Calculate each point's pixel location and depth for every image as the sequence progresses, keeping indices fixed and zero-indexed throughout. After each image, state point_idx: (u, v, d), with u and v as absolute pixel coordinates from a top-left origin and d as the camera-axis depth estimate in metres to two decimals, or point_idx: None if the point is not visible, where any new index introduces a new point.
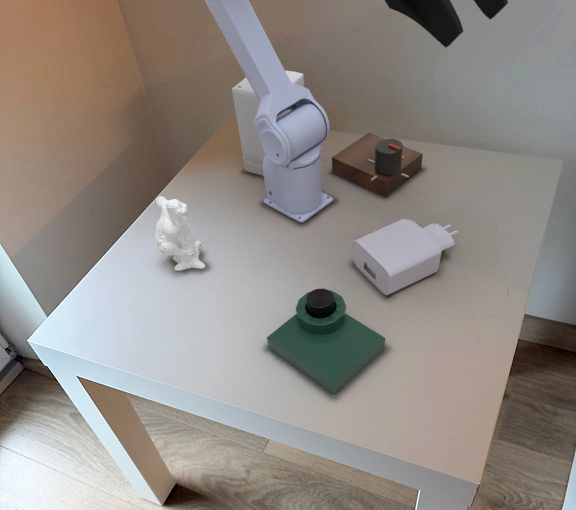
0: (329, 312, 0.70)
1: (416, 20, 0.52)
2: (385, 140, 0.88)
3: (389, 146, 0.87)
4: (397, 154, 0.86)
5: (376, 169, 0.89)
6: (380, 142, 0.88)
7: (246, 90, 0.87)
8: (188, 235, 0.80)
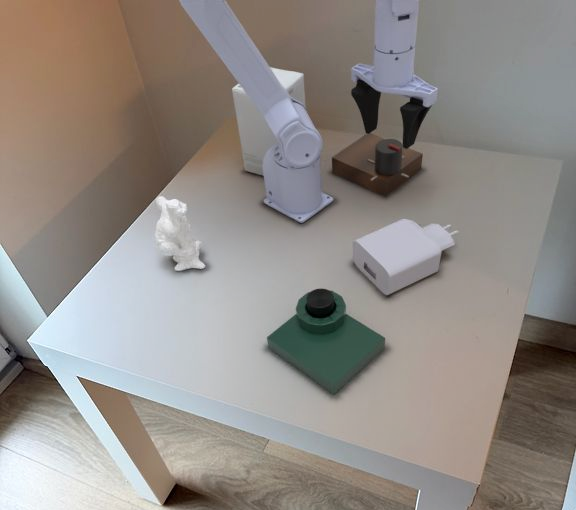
0: (329, 312, 0.70)
1: (410, 128, 0.80)
2: (385, 140, 0.88)
3: (389, 146, 0.87)
4: (397, 154, 0.86)
5: (376, 169, 0.89)
6: (380, 142, 0.88)
7: None
8: (188, 235, 0.80)
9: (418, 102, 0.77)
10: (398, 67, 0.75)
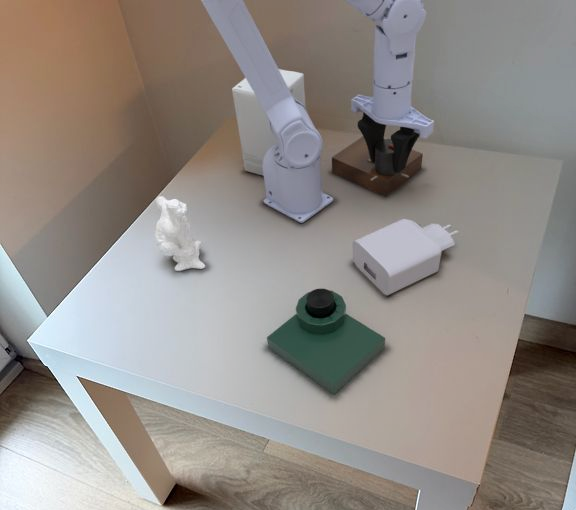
0: (329, 312, 0.70)
1: (401, 154, 0.85)
2: (385, 140, 0.88)
3: (389, 146, 0.87)
4: None
5: (376, 169, 0.89)
6: (380, 142, 0.88)
7: (246, 90, 0.87)
8: (188, 235, 0.80)
9: (408, 130, 0.82)
10: (396, 101, 0.79)
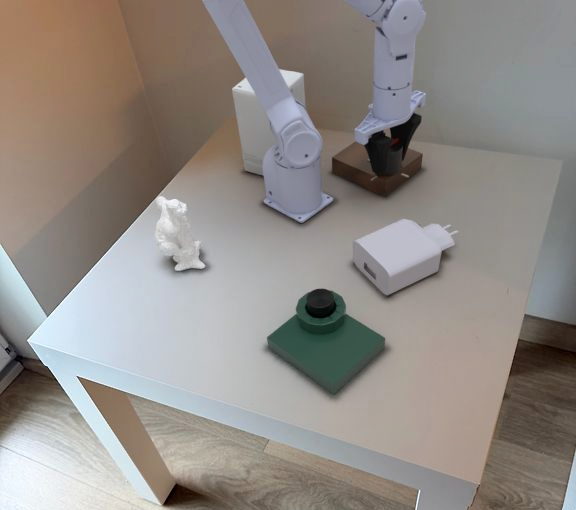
0: (329, 312, 0.70)
1: None
2: None
3: (391, 144, 0.87)
4: None
5: (394, 171, 0.89)
6: None
7: (246, 90, 0.87)
8: (188, 235, 0.80)
9: None
10: None
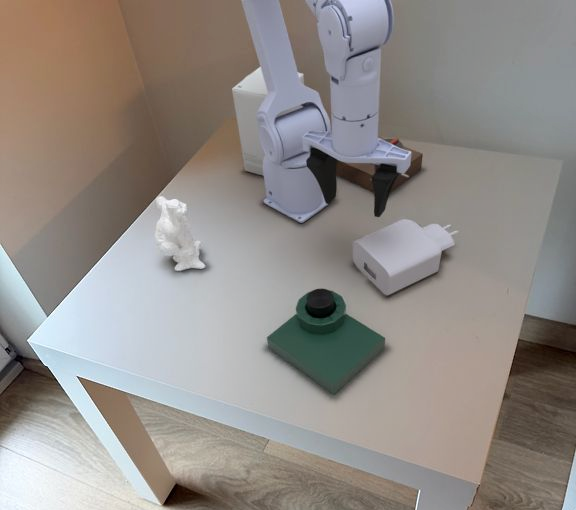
0: (329, 312, 0.70)
1: (383, 197, 0.70)
2: None
3: None
4: None
5: None
6: None
7: (246, 90, 0.87)
8: (188, 235, 0.80)
9: (390, 169, 0.67)
10: (364, 134, 0.64)
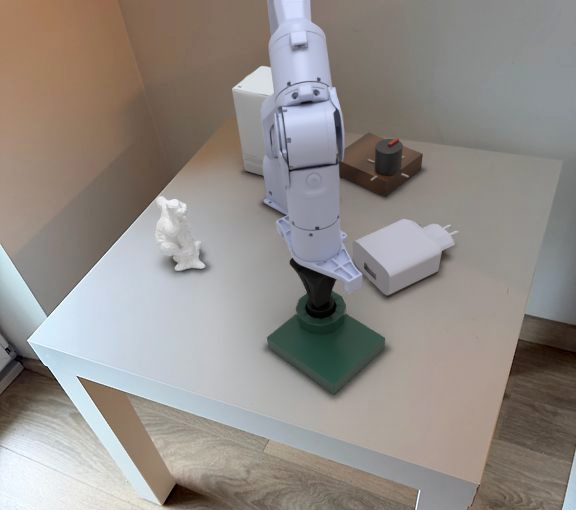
0: (329, 315, 0.71)
1: (316, 292, 0.66)
2: (378, 147, 0.87)
3: (391, 144, 0.87)
4: None
5: (394, 171, 0.89)
6: (382, 150, 0.86)
7: (246, 90, 0.87)
8: (188, 235, 0.80)
9: None
10: (314, 243, 0.59)
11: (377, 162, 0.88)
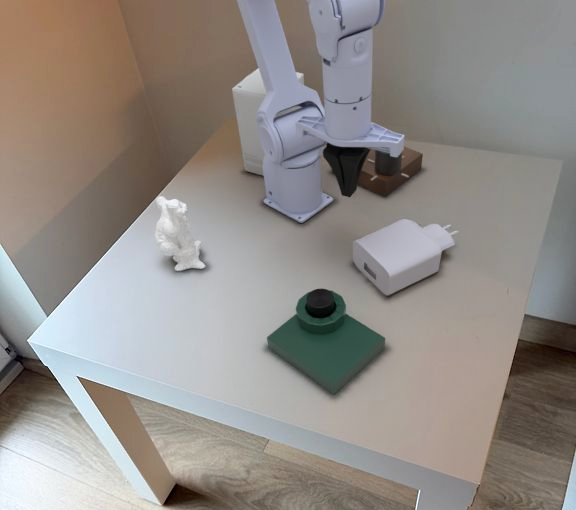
0: (329, 312, 0.70)
1: (353, 176, 0.71)
2: None
3: None
4: None
5: (394, 171, 0.89)
6: None
7: (246, 90, 0.87)
8: (188, 235, 0.80)
9: (358, 147, 0.68)
10: (357, 117, 0.64)
11: (377, 162, 0.88)
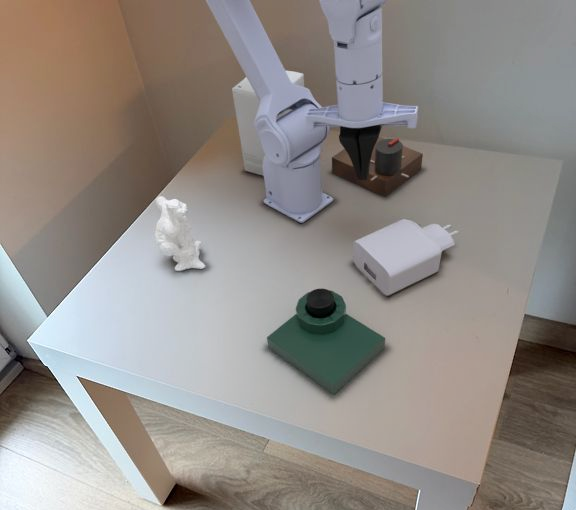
0: (329, 312, 0.70)
1: (370, 156, 0.73)
2: (378, 147, 0.87)
3: (391, 144, 0.87)
4: None
5: (394, 171, 0.89)
6: (382, 150, 0.86)
7: (246, 90, 0.87)
8: (188, 235, 0.80)
9: (374, 127, 0.70)
10: (374, 95, 0.66)
11: (377, 162, 0.88)
